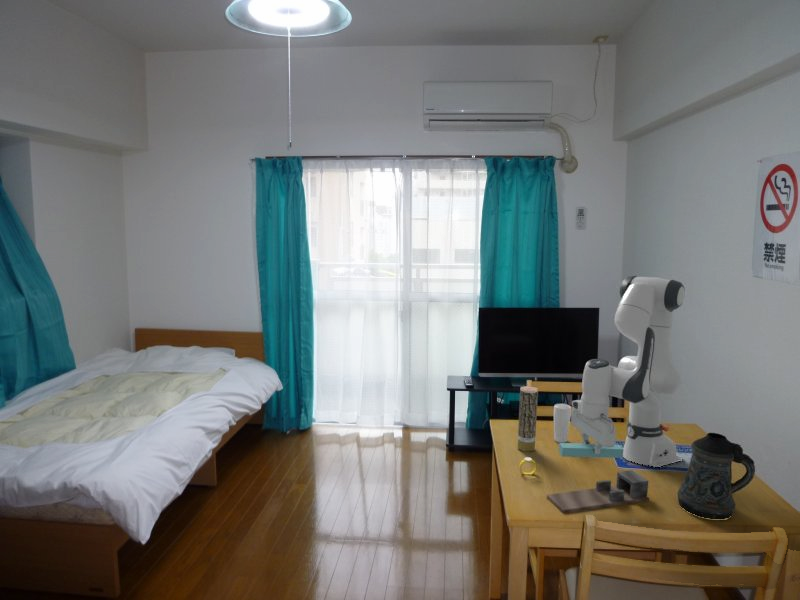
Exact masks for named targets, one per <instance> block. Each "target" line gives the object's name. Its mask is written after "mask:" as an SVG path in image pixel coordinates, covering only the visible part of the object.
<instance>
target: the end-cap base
mask: <svg viewBox="0 0 800 600" xmlns="http://www.w3.org/2000/svg"><path fill="white" fill-rule="evenodd" d="M616 472H617V474H616V485H612V481H611V480H610V479H606V480H599V481H596V484H595V488H594V487H593V488H588V489H579V490H573V491H567V492H557V493H551V494H546V498H547V499H548V501H550V502H551V503H552V504H553V505H554V506H555V507H556V508H557V509H558V510H559V511H560V512H561V513H562V514H565V513H573V512H579V511H587V510H593V509H599V508H607V507H614V506H621V505H627V504H628V505H629V504H634V503H635V502H636V503H642V502H641V501H643V502H648V501H647V500H649V501H650V497H649V496H648V492H649V491H648V488H649V480H648V479H646V478H645V477H643V476H642V475H641V474H639V473H637V472H636V471H635V470H633V469H631V470H623V471H622V470H621V471H616Z"/></svg>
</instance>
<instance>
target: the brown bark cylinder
mask: <svg viewBox="0 0 800 600" xmlns="http://www.w3.org/2000/svg"><path fill="white" fill-rule="evenodd" d="M538 397H539V389H538V388H537V387H535V386H528V385H526V386H525V385H523V386H520V390H519V406H518V407H519V409H518V411H519V412H518V429H517V430H518V431H517V448H518V450H520V451H521V452H527V453H529V452H533V451H535V448H536V433H537V431H536V429H537V415H538Z"/></svg>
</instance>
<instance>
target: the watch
mask: <svg viewBox="0 0 800 600" xmlns="http://www.w3.org/2000/svg"><path fill="white" fill-rule="evenodd" d="M524 463H532V464H534V469H533V470H532V471H531V472H524V471H523V470H522V465H523V464H524ZM518 468H519V470H520V473H521V474H522V475H524V476H533V475H534V474H535V473H536V472H537V470H538V469H537V464H536V462H535V460H534V459H532V457H529V456H527V457H524V458H523V459H522V460H521V461H520V463H519V467H518Z"/></svg>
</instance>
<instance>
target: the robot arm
mask: <svg viewBox="0 0 800 600" xmlns="http://www.w3.org/2000/svg"><path fill="white" fill-rule="evenodd" d="M619 297H620V298H621V299H620V301H619V303H618V306H617V309H616V312H615V315H614V325H615V327H616V329H617V330H618V331H619V333H621V334H622V335H623V336H624V337H625V338H627V339H628V340H631V341H632V342H634V343H635V344H637V346H638V347H637V348H638V350H637V355H626V356H624V357H622V358H621V359H620V360H619V362H618V365H617V366H613V365H611V363H610V361H608V360H606V359H603V358H592V359H590V360H588V361H586V363H585V365H584V369H583V373H582V383H581V389H582V394H581V397H580V399H576V400H572V401H571V417H570V421H571V425H572V427H574V428H576V429H577V430H578V431H580V432H581V433H580V435H581V438H582V443H584V444H591V443H590V442H591V441H590V440H589V438H590V439H592V440H594V441H595V443H594V444H596V446H595V447H593V452H594V453H596V454H599V453H600V450H601V448H602V446H604V447H613V446H614V445H615V444H616V442H617V436H616V434H617V432H616V431H617V429H616V425H615V423H614V421H613V419H612V418H611V417H609V412H610V398H609V396H611V397H614V398H618V399H622V400H624V401H626V402H629V408H628V409H629V410H628V411H629V412H628V413H629V414H628V419H627V423H626V438H625V442H624V446H623V447H622V448H623V449H624V450H623V458H624V459H625V460H627V461H629V462H631V461H632V463H634V462H635V464H637V463H638V465H642V464H643V466H648V465H649V466H648V467H651V466H653V468H655V467H660V468H662V467H661V466H663V465H667V464H670V463H672V462H675V461H678V460H681V459H680V458H681V457H682V456H681V457H678V456H676V455H680V454H679V453H678V452H677V445H676V443H675V442H674V441H673V440H672V439H671V438H670V437H669V436H667V435H666V434H665V433H664V432H668V431H669V430H670V427H669V426H668V425H666V424H663V425H662V424H661V417H662V415H661V414H662V405H661V403H660V401H659V399H657V397H656V396H655V393H657V394H662V395H674V394H675V393H677V392H678V390H679V389H680V388H681V385H682V374H681V373H680V371H679V370H678V369H677V367H676V366H675V364H674V361H673V359H672V356H671V351H670V349H671V347H670V344H671V343H670V342H671V332H672V325H673V324H672V323H673V311H675V310H678V308H681V306H682V305H683V303H684V300H685V297H686V290H685V286H684V285H683V283H682V282H681V281H678V280H675V279H668V278H663V277H662V278H661V277H658V276H657V277H655V276H653V277H652V276H638V275H630V276H627V277H625V278H624V279H622V281H621V283H620V287H619ZM663 431H664V432H663ZM667 466H668V465H667ZM663 467H664V466H663Z"/></svg>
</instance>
